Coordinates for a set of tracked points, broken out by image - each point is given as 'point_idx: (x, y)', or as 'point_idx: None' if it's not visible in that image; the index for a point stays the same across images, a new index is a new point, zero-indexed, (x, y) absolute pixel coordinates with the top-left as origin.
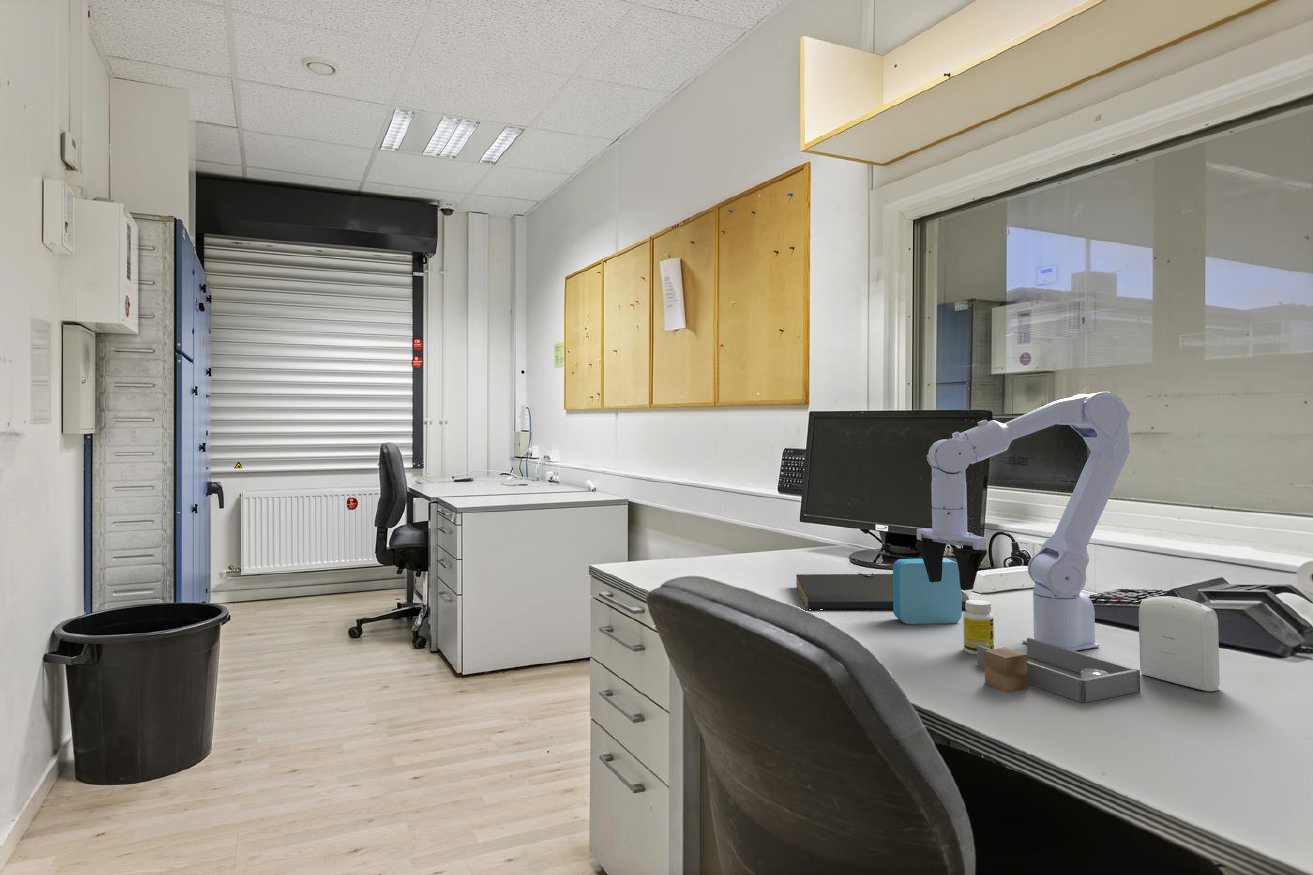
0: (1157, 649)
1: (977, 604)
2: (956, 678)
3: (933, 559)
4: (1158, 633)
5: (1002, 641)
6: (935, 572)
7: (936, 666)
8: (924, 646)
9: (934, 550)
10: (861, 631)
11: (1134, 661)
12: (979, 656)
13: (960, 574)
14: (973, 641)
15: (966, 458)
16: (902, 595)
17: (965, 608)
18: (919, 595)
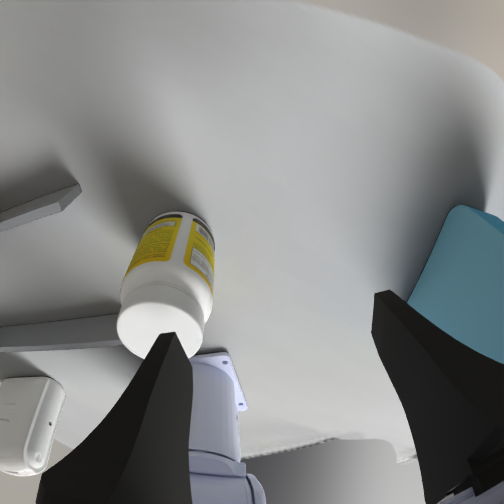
0: (18, 405)
1: (120, 316)
2: (5, 95)
3: (424, 394)
4: (11, 423)
5: (247, 327)
6: (391, 344)
7: (79, 79)
8: (261, 132)
9: (442, 442)
10: (445, 65)
11: (108, 404)
12: (63, 194)
13: (144, 385)
14: (147, 233)
15: None
16: (497, 238)
17: None
18: (475, 281)
